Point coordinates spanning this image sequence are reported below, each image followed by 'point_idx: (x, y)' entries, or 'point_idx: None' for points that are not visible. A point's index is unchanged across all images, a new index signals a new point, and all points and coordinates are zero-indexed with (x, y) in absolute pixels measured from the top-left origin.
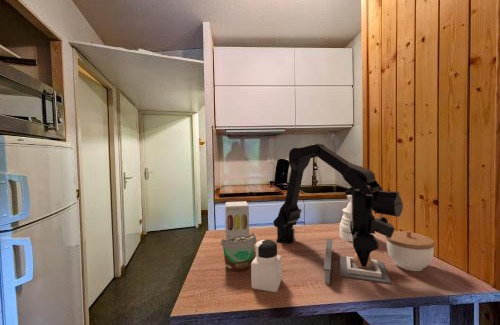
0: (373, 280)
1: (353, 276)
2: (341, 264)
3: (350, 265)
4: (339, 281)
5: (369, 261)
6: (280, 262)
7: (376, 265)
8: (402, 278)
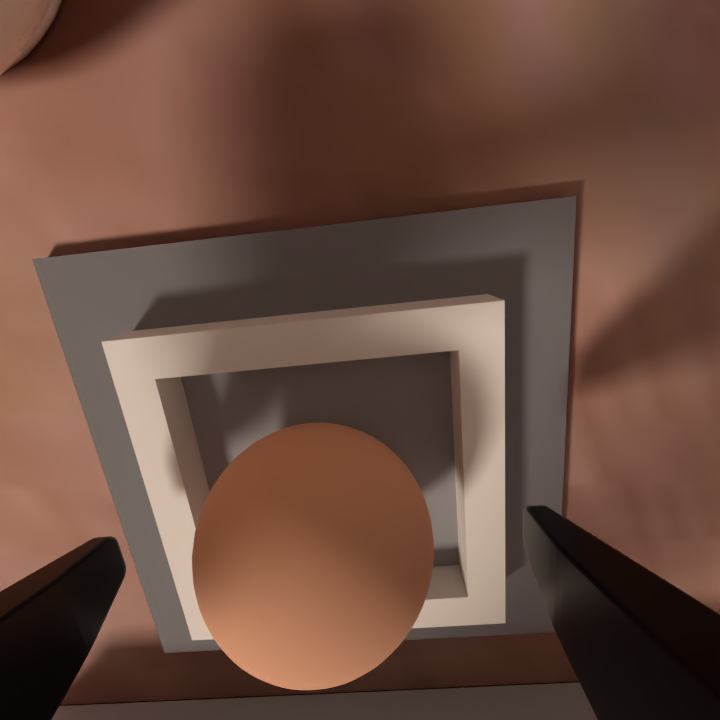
0: (566, 374)
1: None
2: None
3: None
4: None
5: (385, 472)
6: None
7: (283, 349)
8: (371, 41)
